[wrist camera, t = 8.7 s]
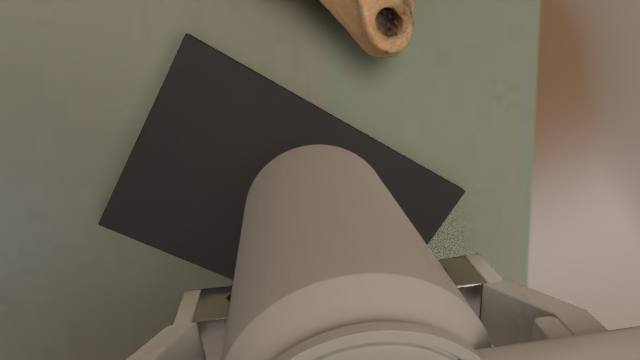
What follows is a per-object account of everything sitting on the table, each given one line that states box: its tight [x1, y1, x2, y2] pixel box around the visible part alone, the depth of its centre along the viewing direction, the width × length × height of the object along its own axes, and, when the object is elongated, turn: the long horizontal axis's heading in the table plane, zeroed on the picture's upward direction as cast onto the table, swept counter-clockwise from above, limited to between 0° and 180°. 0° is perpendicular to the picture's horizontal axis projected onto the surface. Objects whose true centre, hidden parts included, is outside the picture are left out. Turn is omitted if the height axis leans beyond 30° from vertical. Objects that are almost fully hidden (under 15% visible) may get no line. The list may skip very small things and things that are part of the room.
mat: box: [99, 34, 465, 280], centre depth 27 cm, size 20×13×1 cm, turn 59°
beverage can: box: [221, 144, 492, 360], centre depth 14 cm, size 6×6×12 cm
